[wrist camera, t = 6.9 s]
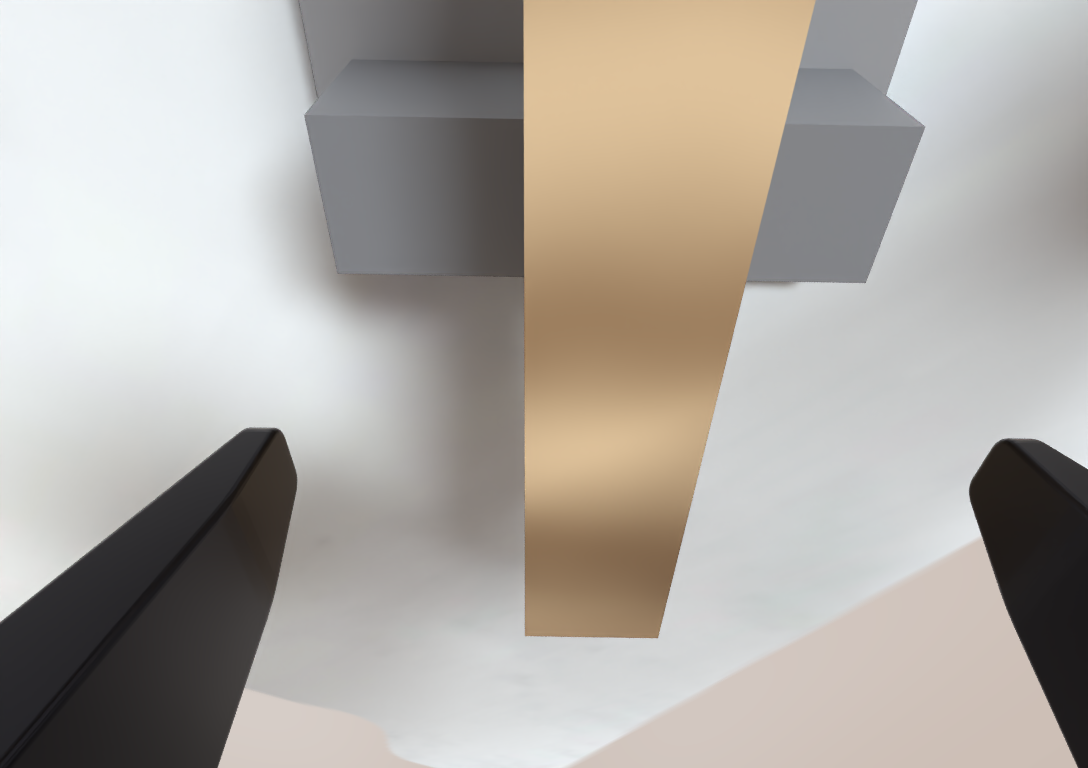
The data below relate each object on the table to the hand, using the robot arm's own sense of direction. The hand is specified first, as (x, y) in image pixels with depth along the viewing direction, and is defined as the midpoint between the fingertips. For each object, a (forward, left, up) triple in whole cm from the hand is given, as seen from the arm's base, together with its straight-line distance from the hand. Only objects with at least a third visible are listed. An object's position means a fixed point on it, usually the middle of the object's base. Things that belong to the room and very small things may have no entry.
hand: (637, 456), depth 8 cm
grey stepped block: (0, 0, -12) cm, 12 cm away
